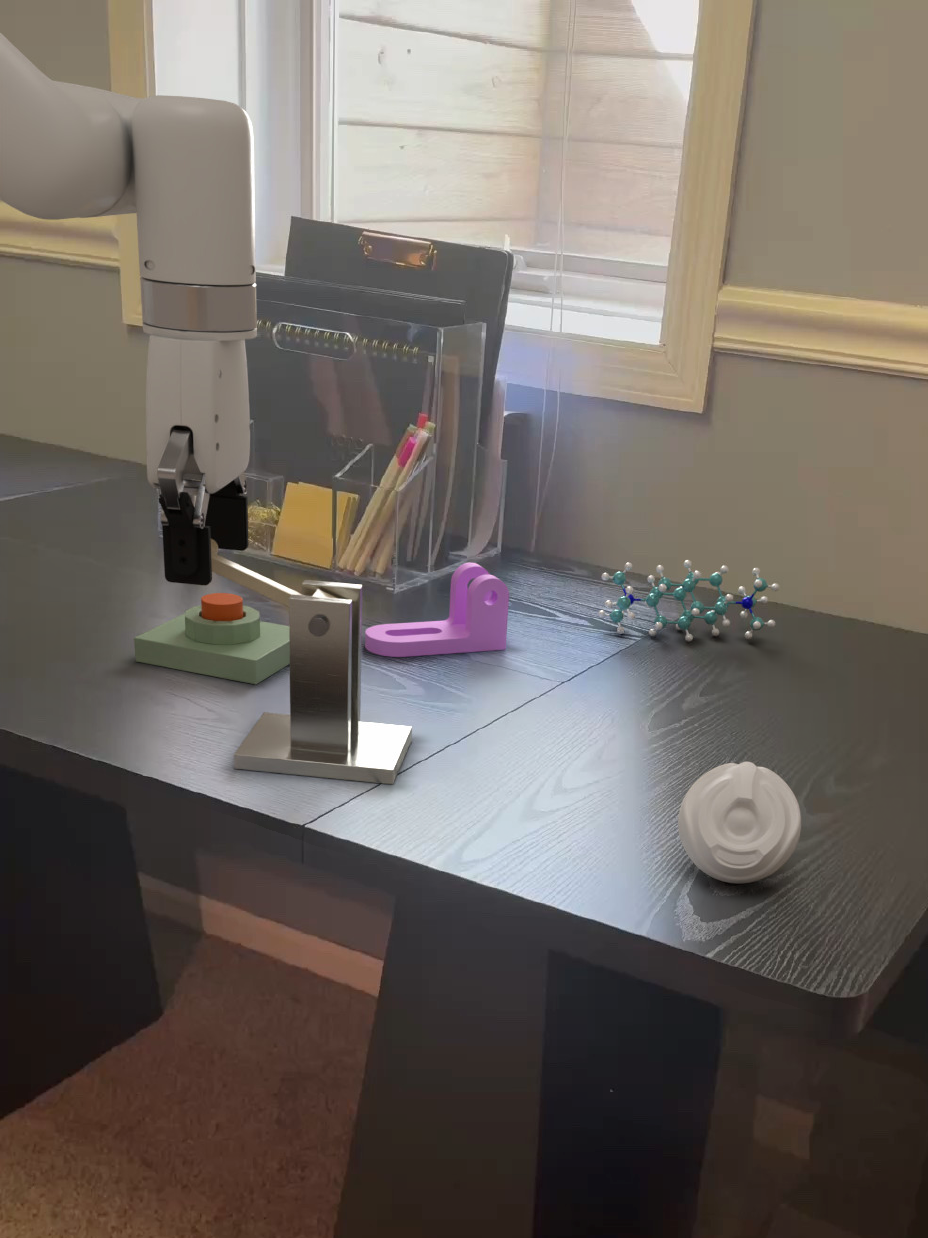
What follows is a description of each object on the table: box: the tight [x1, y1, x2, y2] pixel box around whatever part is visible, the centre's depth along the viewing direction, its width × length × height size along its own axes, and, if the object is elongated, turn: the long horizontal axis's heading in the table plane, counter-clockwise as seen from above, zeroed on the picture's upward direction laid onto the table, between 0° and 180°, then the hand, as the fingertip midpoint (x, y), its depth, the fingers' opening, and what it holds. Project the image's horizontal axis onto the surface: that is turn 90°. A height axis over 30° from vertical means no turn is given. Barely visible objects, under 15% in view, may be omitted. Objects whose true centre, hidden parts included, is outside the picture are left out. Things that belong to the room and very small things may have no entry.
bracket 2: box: [364, 562, 510, 658], centre depth 130 cm, size 13×6×7 cm, turn 113°
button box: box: [133, 604, 290, 685], centre depth 123 cm, size 12×10×4 cm
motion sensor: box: [677, 761, 802, 884], centre depth 91 cm, size 8×8×8 cm
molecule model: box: [597, 559, 780, 643], centre depth 138 cm, size 8×18×7 cm, turn 95°
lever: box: [211, 539, 338, 608], centre depth 100 cm, size 12×5×2 cm, turn 85°
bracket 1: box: [233, 579, 413, 785], centre depth 103 cm, size 12×9×13 cm
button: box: [200, 592, 244, 621], centre depth 122 cm, size 4×4×2 cm
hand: (208, 564), depth 100 cm, fingers open, 9 cm apart
